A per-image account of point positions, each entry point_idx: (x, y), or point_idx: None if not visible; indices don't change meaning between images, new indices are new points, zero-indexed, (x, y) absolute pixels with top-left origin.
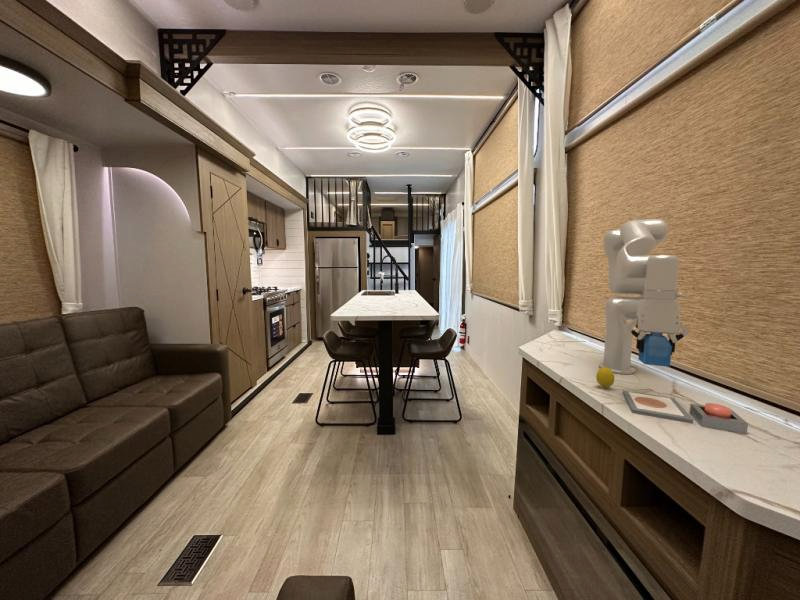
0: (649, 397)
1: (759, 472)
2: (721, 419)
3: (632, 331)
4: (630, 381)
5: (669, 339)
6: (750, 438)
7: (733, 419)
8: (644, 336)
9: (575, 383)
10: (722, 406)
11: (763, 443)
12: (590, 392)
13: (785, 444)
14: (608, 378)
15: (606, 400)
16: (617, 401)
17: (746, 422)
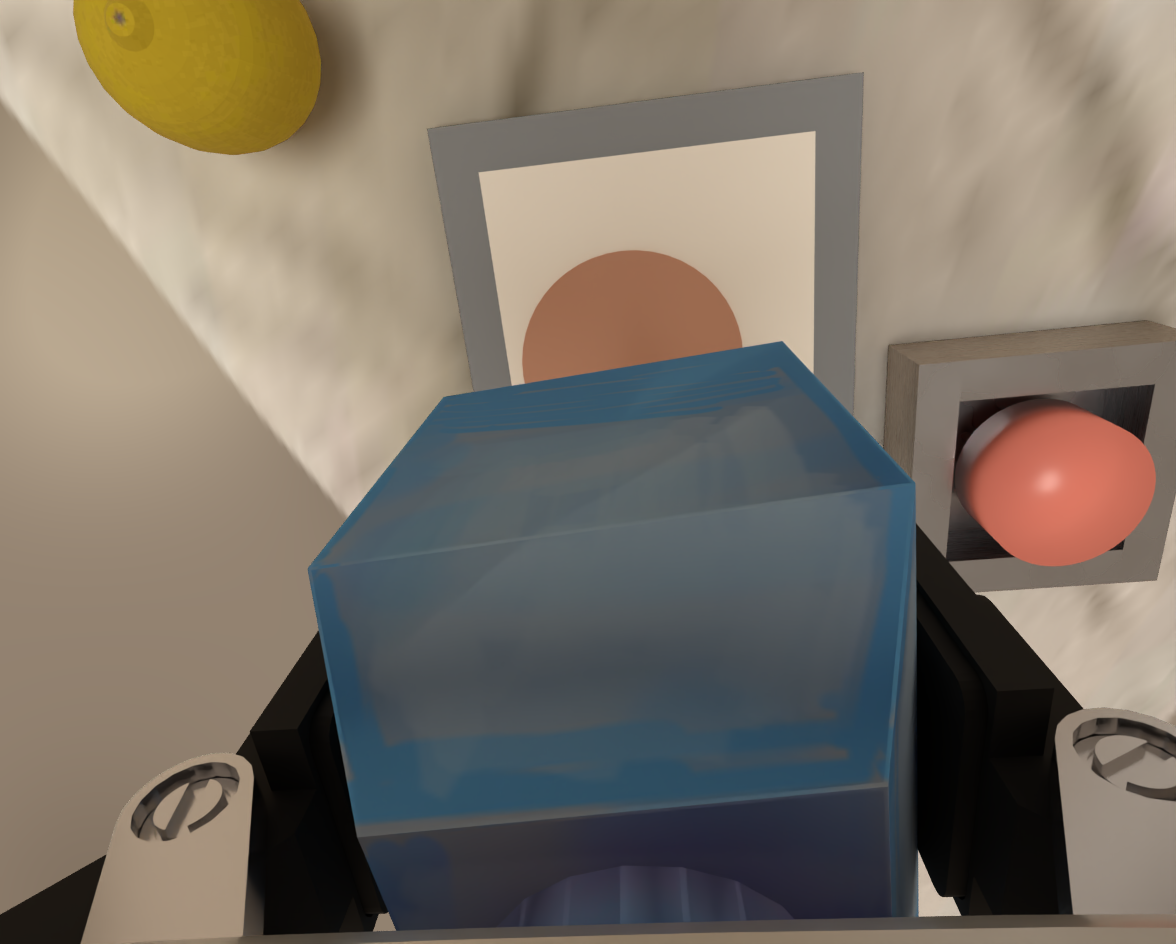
0: (642, 228)
1: (926, 894)
2: (1009, 587)
3: None
4: None
5: (1019, 843)
6: (1091, 590)
7: (1092, 558)
8: (355, 775)
9: (17, 91)
10: (1121, 457)
11: (1125, 622)
12: (204, 296)
13: None
14: (249, 145)
15: (343, 420)
16: (414, 394)
17: (1155, 569)
